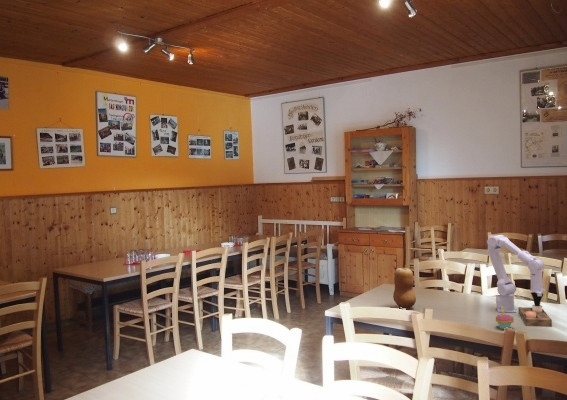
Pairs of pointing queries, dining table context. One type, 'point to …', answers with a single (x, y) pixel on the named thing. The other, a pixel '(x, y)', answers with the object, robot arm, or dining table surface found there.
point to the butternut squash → (404, 288)
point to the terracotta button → (531, 314)
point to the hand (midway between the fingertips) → (537, 305)
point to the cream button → (536, 308)
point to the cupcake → (504, 320)
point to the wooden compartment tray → (540, 319)
